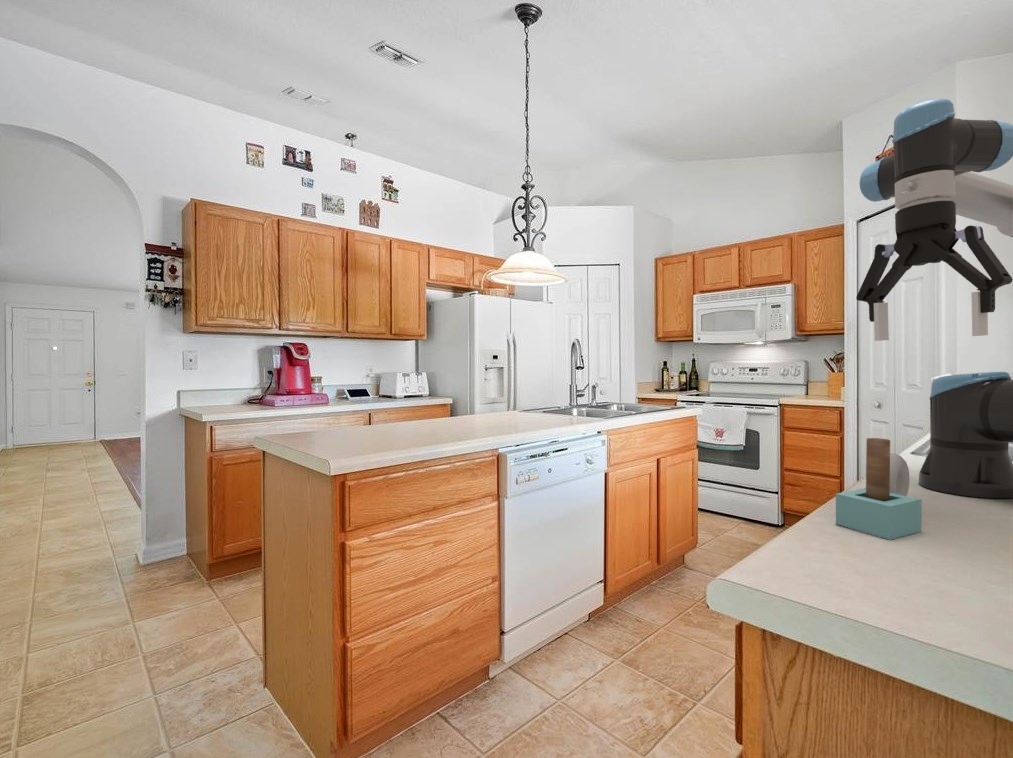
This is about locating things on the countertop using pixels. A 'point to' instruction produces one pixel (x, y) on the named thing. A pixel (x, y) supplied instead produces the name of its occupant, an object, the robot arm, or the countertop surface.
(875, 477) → the thick dowel
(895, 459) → the grey rounded flat slab
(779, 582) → the countertop surface
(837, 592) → the countertop surface
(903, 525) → the teal socket block
